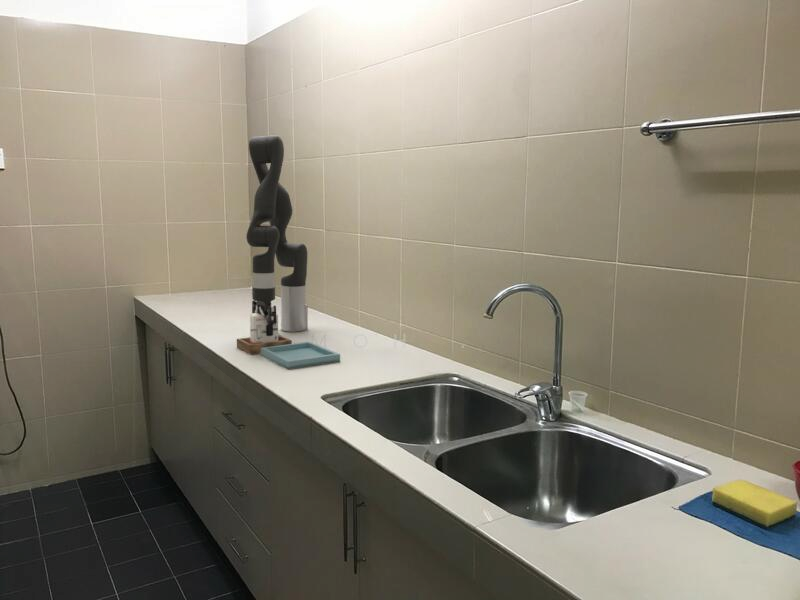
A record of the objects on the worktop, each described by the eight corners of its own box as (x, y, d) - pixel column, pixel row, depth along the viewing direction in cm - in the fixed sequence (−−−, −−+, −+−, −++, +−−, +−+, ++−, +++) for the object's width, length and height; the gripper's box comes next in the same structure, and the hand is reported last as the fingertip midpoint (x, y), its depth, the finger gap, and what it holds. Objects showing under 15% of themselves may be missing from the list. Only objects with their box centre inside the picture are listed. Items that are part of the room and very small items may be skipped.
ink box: (253, 351, 219) (252, 316, 217) (249, 347, 223) (249, 313, 221) (278, 348, 223) (278, 314, 221) (274, 345, 227) (274, 311, 225)
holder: (277, 342, 232) (277, 334, 231) (291, 348, 223) (291, 340, 222) (236, 347, 223) (236, 338, 222) (250, 354, 214) (249, 345, 214)
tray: (309, 348, 224) (309, 341, 224) (340, 361, 208) (340, 354, 208) (260, 355, 214) (260, 347, 213) (288, 369, 198) (288, 361, 197)
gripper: (283, 287, 216) (283, 336, 219) (265, 282, 227) (265, 328, 230) (262, 289, 212) (262, 338, 214) (244, 283, 223) (245, 330, 226)
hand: (264, 333), depth 222 cm, fingers open, 8 cm apart
